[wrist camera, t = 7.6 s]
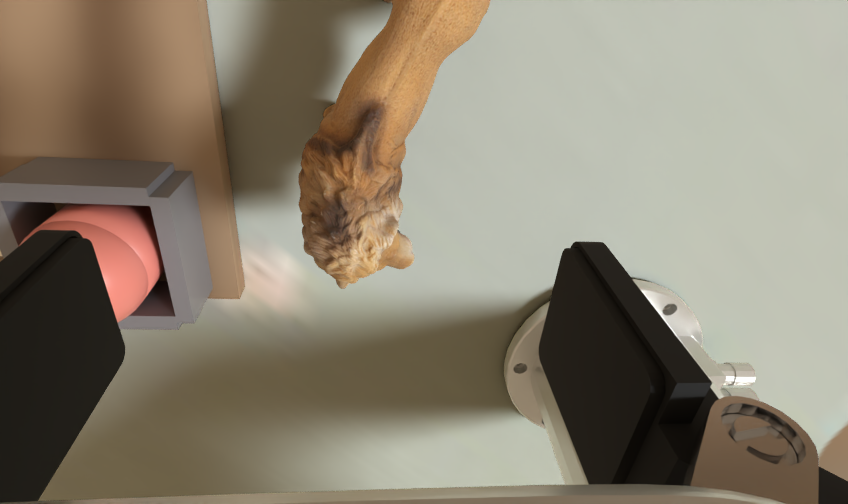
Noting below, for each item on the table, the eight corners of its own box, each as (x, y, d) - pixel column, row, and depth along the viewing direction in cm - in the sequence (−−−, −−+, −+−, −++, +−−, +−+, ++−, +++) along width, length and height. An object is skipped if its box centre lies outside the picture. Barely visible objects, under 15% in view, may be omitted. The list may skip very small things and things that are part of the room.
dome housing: (191, 163, 23) (166, 189, 20) (213, 294, 27) (195, 329, 24) (19, 155, 22) (-29, 181, 20) (67, 291, 26) (32, 328, 23)
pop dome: (162, 192, 23) (104, 253, 18) (181, 282, 25) (135, 357, 20) (46, 188, 22) (-46, 250, 17) (78, 280, 25) (5, 356, 20)
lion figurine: (399, 215, 26) (406, 320, 19) (300, 185, 25) (263, 286, 17) (517, -102, 20) (603, -141, 12) (389, -163, 18) (393, -251, 11)
